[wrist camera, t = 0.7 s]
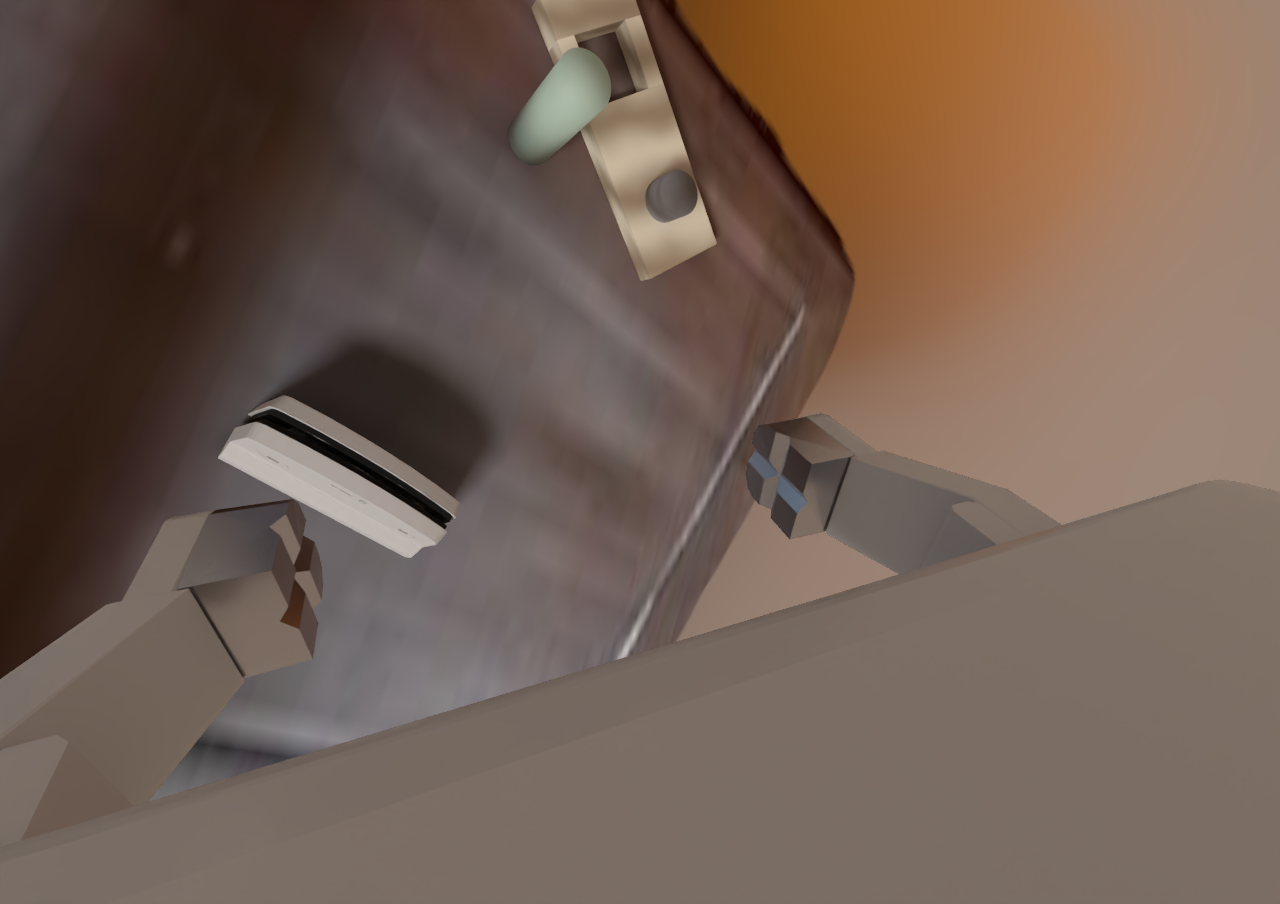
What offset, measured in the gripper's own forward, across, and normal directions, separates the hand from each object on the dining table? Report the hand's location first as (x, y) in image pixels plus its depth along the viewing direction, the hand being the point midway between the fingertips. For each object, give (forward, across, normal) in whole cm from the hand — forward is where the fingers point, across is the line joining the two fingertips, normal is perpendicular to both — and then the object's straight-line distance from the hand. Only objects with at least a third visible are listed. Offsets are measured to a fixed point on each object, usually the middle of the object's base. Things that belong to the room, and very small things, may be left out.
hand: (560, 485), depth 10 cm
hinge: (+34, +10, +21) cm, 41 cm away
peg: (+46, -9, -3) cm, 47 cm away
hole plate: (+48, -19, -3) cm, 51 cm away
